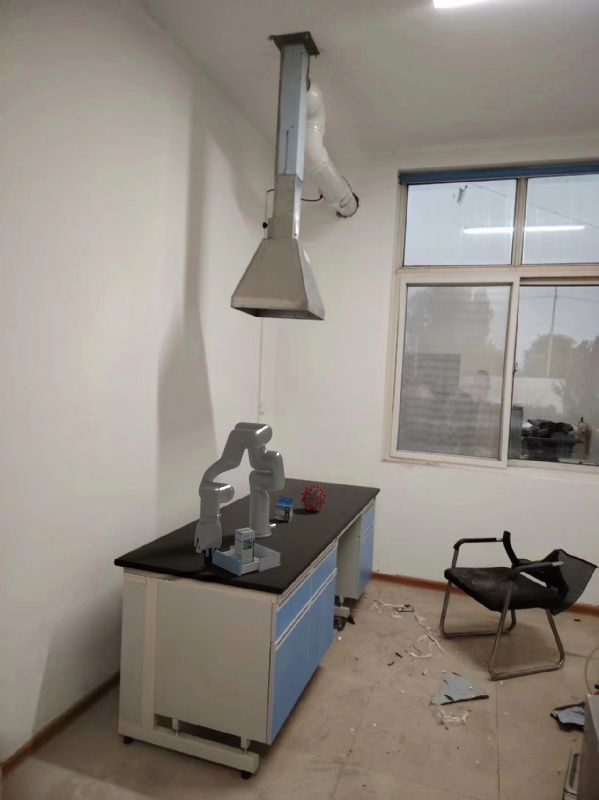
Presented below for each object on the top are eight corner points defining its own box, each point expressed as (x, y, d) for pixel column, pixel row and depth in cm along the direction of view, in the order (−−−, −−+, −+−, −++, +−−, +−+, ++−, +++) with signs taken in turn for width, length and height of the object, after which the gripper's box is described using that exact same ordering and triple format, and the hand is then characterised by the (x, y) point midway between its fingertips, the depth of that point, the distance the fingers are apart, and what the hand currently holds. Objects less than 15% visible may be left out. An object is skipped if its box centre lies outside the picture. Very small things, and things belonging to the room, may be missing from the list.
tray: (235, 557, 213) (235, 544, 212) (262, 569, 200) (262, 555, 200) (212, 563, 205) (213, 549, 204) (239, 575, 192) (239, 561, 192)
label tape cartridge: (274, 519, 274) (275, 497, 274) (278, 518, 277) (279, 495, 277) (289, 522, 270) (290, 499, 269) (292, 521, 273) (293, 498, 273)
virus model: (325, 508, 304) (327, 483, 303) (324, 515, 289) (325, 488, 288) (301, 507, 305) (302, 482, 305) (299, 513, 290) (300, 487, 290)
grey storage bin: (250, 552, 220) (250, 541, 220) (280, 565, 206) (281, 553, 206) (229, 558, 212) (229, 546, 212) (259, 571, 198) (260, 559, 198)
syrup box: (241, 570, 196) (243, 532, 195) (233, 565, 200) (235, 528, 200) (254, 567, 199) (255, 530, 199) (246, 562, 204) (247, 526, 203)
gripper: (219, 513, 206) (217, 558, 206) (187, 519, 195) (185, 566, 196) (230, 517, 200) (229, 563, 201) (198, 523, 190) (196, 572, 190)
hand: (207, 565), depth 198 cm, fingers closed
